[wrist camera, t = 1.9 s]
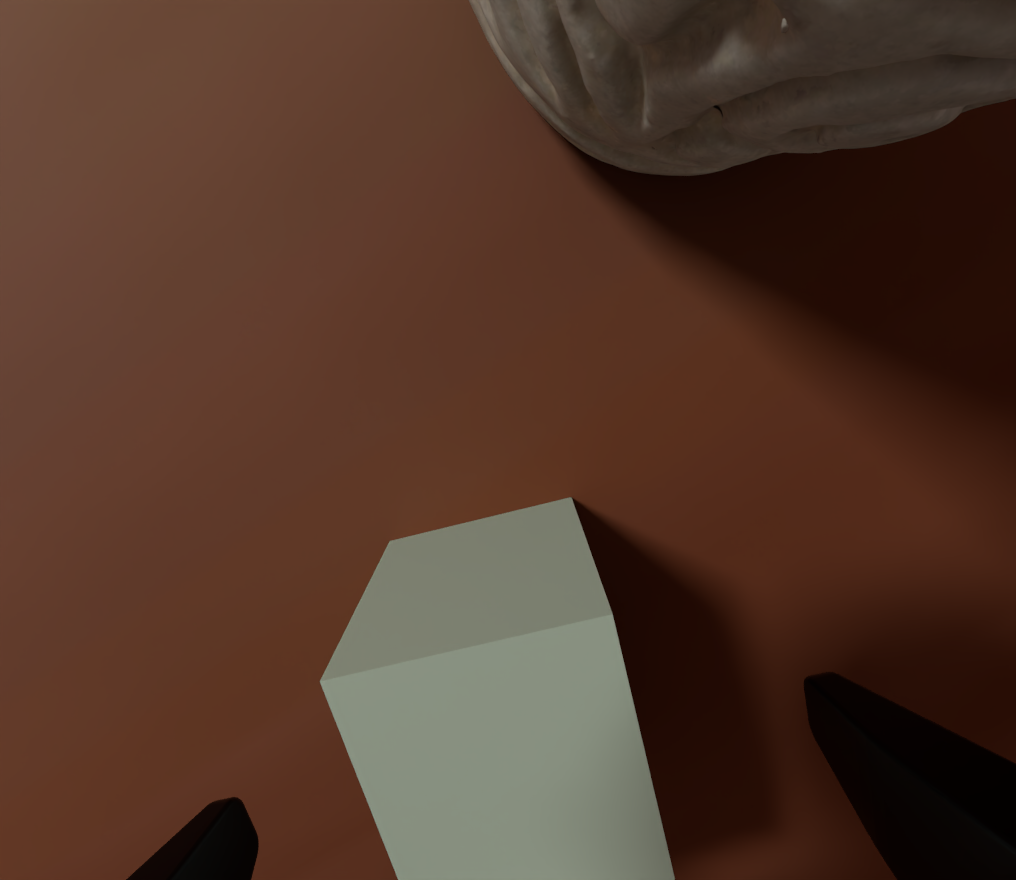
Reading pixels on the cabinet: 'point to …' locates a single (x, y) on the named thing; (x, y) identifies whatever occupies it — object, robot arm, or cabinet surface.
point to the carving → (749, 73)
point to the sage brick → (496, 708)
